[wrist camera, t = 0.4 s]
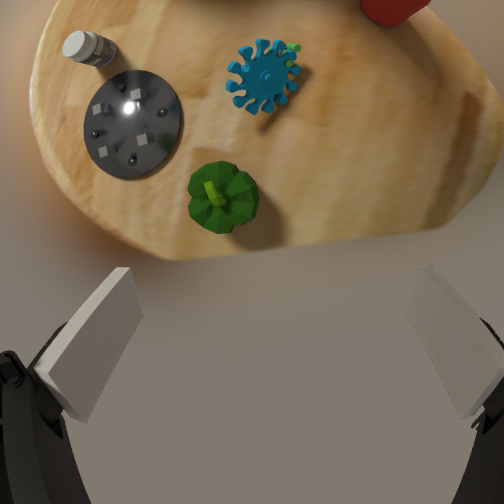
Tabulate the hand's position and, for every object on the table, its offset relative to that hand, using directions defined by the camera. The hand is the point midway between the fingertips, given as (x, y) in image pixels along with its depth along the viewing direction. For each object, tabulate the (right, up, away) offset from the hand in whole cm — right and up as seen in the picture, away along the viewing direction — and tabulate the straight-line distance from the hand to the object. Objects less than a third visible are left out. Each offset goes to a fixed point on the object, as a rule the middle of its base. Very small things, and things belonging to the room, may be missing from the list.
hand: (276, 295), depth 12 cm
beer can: (+17, +37, +12) cm, 42 cm away
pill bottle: (-23, +32, +17) cm, 43 cm away
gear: (+1, +24, +19) cm, 30 cm away
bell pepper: (-4, +11, +25) cm, 27 cm away
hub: (-18, +20, +21) cm, 35 cm away
